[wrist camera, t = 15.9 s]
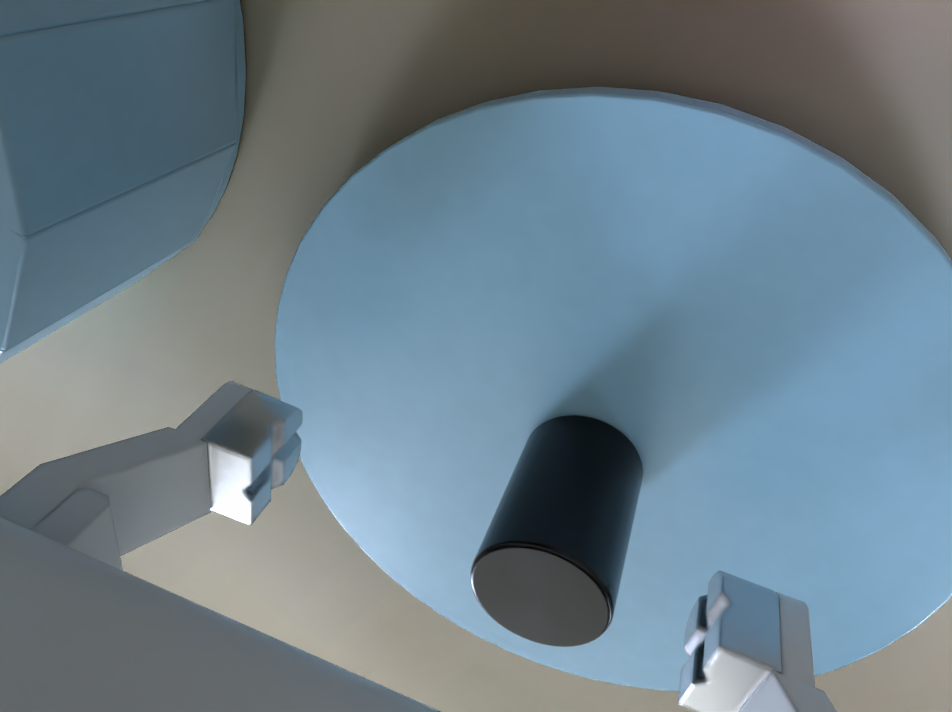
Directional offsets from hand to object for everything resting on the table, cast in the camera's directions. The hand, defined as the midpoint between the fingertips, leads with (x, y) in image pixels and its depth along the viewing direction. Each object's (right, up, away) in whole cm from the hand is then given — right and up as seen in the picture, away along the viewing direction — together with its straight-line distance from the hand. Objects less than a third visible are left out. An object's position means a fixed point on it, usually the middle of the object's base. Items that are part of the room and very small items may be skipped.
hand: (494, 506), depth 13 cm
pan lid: (+2, +1, +1) cm, 3 cm away
